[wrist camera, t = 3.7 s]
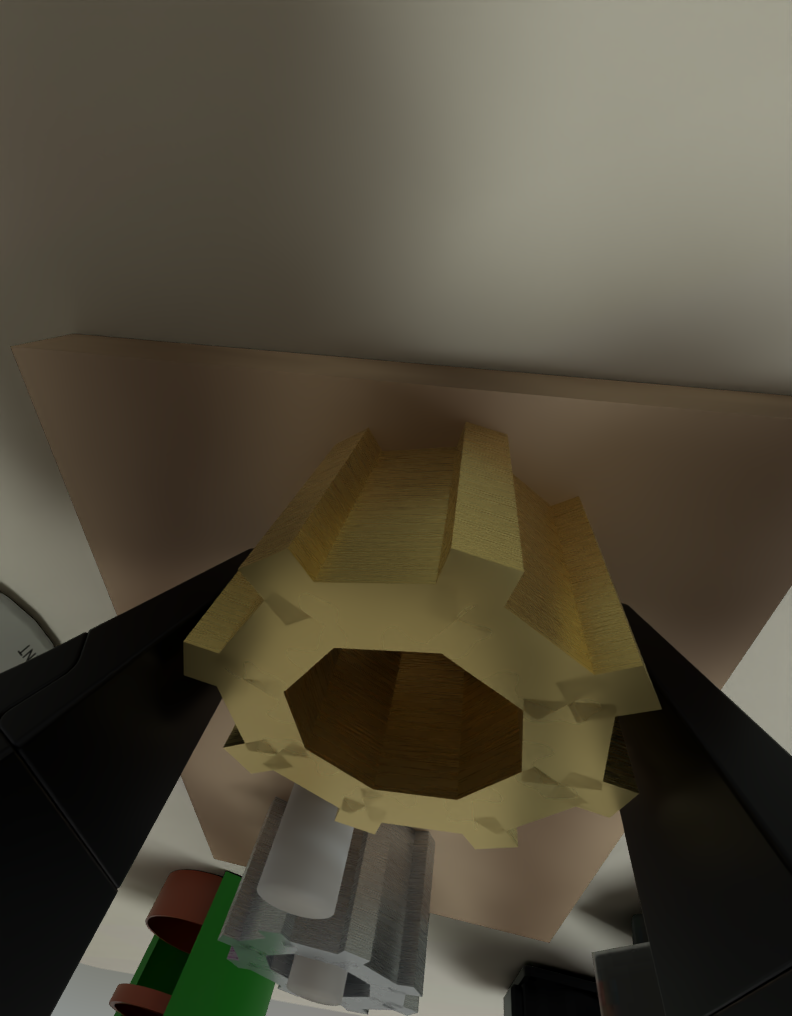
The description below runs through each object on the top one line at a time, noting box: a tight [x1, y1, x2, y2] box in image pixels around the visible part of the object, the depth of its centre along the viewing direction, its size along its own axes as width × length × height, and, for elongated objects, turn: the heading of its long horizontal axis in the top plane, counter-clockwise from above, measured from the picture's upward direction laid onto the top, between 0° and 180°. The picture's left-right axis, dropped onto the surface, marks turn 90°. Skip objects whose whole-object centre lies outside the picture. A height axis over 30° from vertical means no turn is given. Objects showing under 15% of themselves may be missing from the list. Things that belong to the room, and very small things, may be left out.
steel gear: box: [218, 797, 435, 1016], centre depth 16 cm, size 7×7×4 cm
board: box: [10, 334, 792, 1006], centre depth 13 cm, size 16×24×6 cm, turn 178°
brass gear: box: [183, 422, 662, 849], centre depth 8 cm, size 7×7×4 cm
